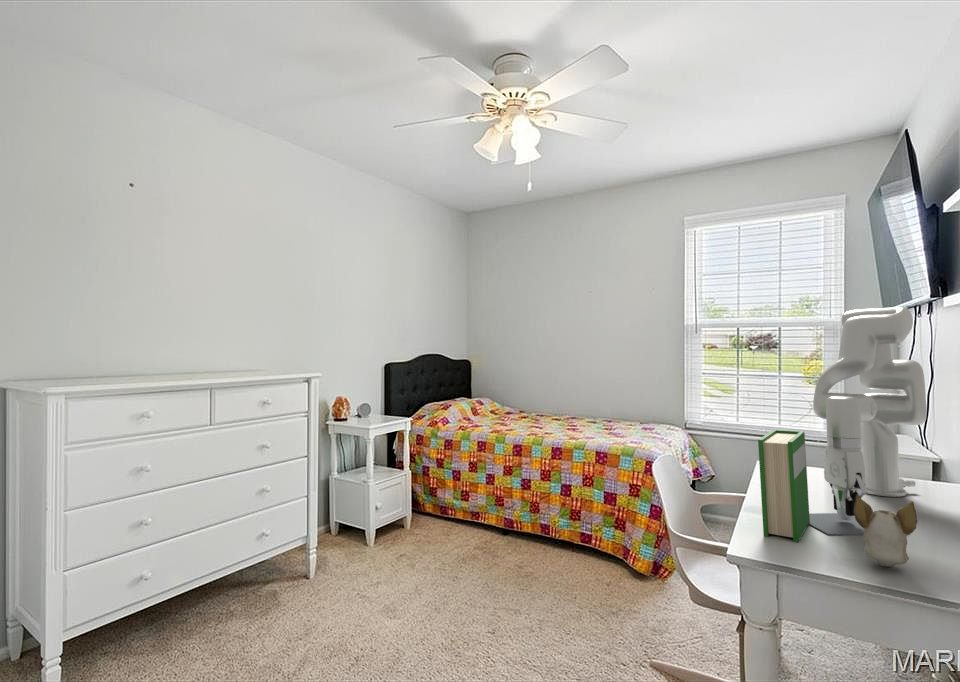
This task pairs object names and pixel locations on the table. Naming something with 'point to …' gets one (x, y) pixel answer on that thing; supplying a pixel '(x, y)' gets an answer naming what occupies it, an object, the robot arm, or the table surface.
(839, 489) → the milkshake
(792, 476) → the hardback book
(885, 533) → the ceramic sculpture
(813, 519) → the mouse pad
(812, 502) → the table surface
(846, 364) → the robot arm
